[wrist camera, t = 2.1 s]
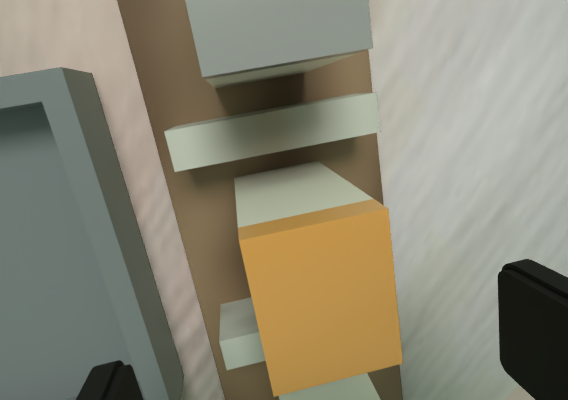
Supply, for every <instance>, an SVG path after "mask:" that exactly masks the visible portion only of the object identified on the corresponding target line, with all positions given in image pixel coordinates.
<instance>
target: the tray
mask: <svg viewBox="0 0 568 400" xmlns="http://www.w3.org/2000/svg"><path fill="white" fill-rule="evenodd" d="M118 360H121V361H122V362H123V363H124V365H128V364H130V365H131V366H132V367H133V370H134V373H135V376H136V379H137V382H138V385H139V388H140V391H141V394H142V397H143V399H144V400H180V396H181V390H182V384H183V377H184V375H183V372H182V369H181V365H180V362H179V359H178V355H177V352H176V349H175V346H174V342H173V339H172V336H171V332H170V329H169V326H168V323H167V319H166V316H165V313H164V309H163V306H162V303H161V300H160V296H159V293H158V290H157V286H156V283H155V280H154V277H153V273H152V270H151V267H150V263H149V260H148V257H147V254H146V250H145V247H144V244H143V240H142V237H141V234H140V231H139V227H138V224H137V221H136V217H135V214H134V211H133V208H132V204H131V201H130V198H129V194H128V191H127V188H126V184H125V181H124V178H123V175H122V171H121V168H120V165H119V161H118V158H117V155H116V152H115V148H114V145H113V142H112V138H111V135H110V132H109V129H108V125H107V122H106V119H105V115H104V112H103V109H102V106H101V102H100V99H99V96H98V92H97V89H96V86H95V83H94V79H93V76H92V73H87V72H82V71H77V70H72V69H67V68H62V67H60V68H54V69H48V70H41V71H35V72H29V73H23V74H17V75H11V76H5V77H0V400H76V398H77V396H78V394H79V392H80V390H81V388H82V387H83V385H84V383H85V381H86V379H87V377H88V375H89V373H90V371H91V369H92V368H93V367H95V366H97V365H101V364H105V363H109V362H114V361H118Z"/></svg>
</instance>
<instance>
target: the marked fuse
mask: <svg viewBox="0 0 568 400" xmlns="http://www.w3.org/2000/svg"><path fill="white" fill-rule="evenodd" d="M234 184H235V197H236V210H237V223H238V236H239V244H240V248H241V252H242V257H243V261H244V266H245V270H246V275H247V279H248V284H249V288H250V293H251V297H252V302H253V306H254V311H255V315H256V320H257V324H258V329H259V333H260V338H261V342H262V347H263V351H264V355H265V360H266V364H267V369H268V373H269V378H270V382H271V387H272V391H273V396H274V397H275V396H279V395H283V394H287V393H291V392H295V391H299V390H302V389H306V388H310V387H314V386H318V385H322V384H326V383H329V382H333V381H337V380H341V379H345V378H349V377H353V376H357V375H360V374H364V373H368V372H372V371H376V370H380V369H384V368H387V367H391V366H395V365H399V364H403V359H402V348H401V338H400V327H399V317H398V306H397V296H396V285H395V275H394V264H393V254H392V243H391V233H390V222H389V212H388V208H387V207H385V206H384V205H382V204H381V203H379V202H378V201H376V200H375V199H373V198H372V197H370V196H369V195H367V194H366V193H364V192H363V191H361V190H360V189H359V188H357V187H356V186H354V185H353V184H351V183H350V182H348V181H347V180H345V179H344V178H342V177H341V176H339V175H338V174H336V173H335V172H333V171H332V170H330V169H329V168H327V167H326V166H324V165H323V164H321V163H320V162H318V161H315V162H310V163H305V164H300V165H295V166H290V167H285V168H280V169H275V170H270V171H265V172H260V173H255V174H250V175H245V176H240V177H235V178H234Z"/></svg>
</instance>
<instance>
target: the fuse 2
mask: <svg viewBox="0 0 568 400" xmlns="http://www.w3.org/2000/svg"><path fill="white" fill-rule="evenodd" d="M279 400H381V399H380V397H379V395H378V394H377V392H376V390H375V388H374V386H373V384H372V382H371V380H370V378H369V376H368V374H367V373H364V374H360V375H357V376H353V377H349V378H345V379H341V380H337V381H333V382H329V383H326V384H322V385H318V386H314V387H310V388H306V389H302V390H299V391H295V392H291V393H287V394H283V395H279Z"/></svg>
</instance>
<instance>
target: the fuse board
mask: <svg viewBox="0 0 568 400" xmlns="http://www.w3.org/2000/svg"><path fill="white" fill-rule="evenodd" d="M117 1H118V5H119V8H120V12H121V16H122V20H123V23H124V27H125V31H126V34H127V38H128V42H129V45H130V49H131V53H132V56H133V60H134V64H135V68H136V71H137V75H138V79H139V82H140V86H141V90H142V93H143V97H144V101H145V104H146V108H147V112H148V116H149V119H150V123H151V127H152V130H153V134H154V138H155V141H156V145H157V149H158V152H159V156H160V160H161V164H162V167H163V171H164V175H165V178H166V182H167V186H168V189H169V193H170V197H171V200H172V204H173V208H174V212H175V215H176V219H177V223H178V226H179V230H180V234H181V237H182V241H183V245H184V248H185V252H186V256H187V260H188V263H189V267H190V271H191V274H192V278H193V282H194V285H195V289H196V293H197V297H198V300H199V304H200V308H201V311H202V315H203V319H204V322H205V326H206V330H207V333H208V337H209V341H210V345H211V348H212V352H213V356H214V359H215V363H216V367H217V370H218V374H219V378H220V381H221V385H222V389H223V393H224V396H225V400H279V396H275V397H274V396H273V391H272V387H271V382H270V378H269V373H268V369H267V364H266V360H265V355H264V351H263V347H262V342H261V338H260V333H259V329H258V324H257V320H256V315H255V311H254V306H253V302H252V297H251V293H250V288H249V284H248V279H247V275H246V270H245V266H244V261H243V257H242V252H241V248H240V244H239V236H238V223H237V210H236V197H235V184H234V178H235V177H240V176H245V175H250V174H255V173H260V172H265V171H270V170H275V169H280V168H285V167H290V166H295V165H300V164H305V163H310V162H315V161H318V162H320V163H321V164H323V165H324V166H326V167H327V168H329V169H330V170H332V171H333V172H335V173H336V174H338V175H339V176H341V177H342V178H344V179H345V180H347V181H348V182H350V183H351V184H353V185H354V186H356V187H357V188H359V189H360V190H361V191H363V192H364V193H366V194H367V195H369V196H370V197H372V198H373V199H375V200H376V201H378V202H379V203H381V204H382V205H383V194H382V184H381V174H380V164H379V154H378V144H377V134H376V133H378V132H380V121H379V111H378V100H377V92H375V93H372V83H371V73H370V63H369V53H368V50H366V51H363V52H360V53H357V54H355V55H352V56H349V57H346V58H344V59H341V60H338V61H335V62H333V63H330V64H327V65H324V66H322V67H319V68H316V69H313V70H311V71H308V72H305V73H300V74H295V75H289V76H283V77H277V78H272V79H266V80H260V81H255V82H249V83H243V84H238V85H232V86H226V87H220V88H214V87H213V86H211V85H210V84H209V83H208V82H207V81H206V80H205V79H204V78H203V77H202V73H201V69H200V64H199V60H198V55H197V51H196V47H195V42H194V38H193V33H192V29H191V24H190V20H189V15H188V11H187V6H186V2H185V0H117ZM367 374H368V376H369V378H370V380H371V382H372V384H373V386H374V388H375V390H376V392H377V394H378V395H379V397H380V399H381V400H403V397H402V387H401V376H400V366H399V365H395V366H391V367H387V368H384V369H380V370H376V371H372V372H368V373H367Z"/></svg>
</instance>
